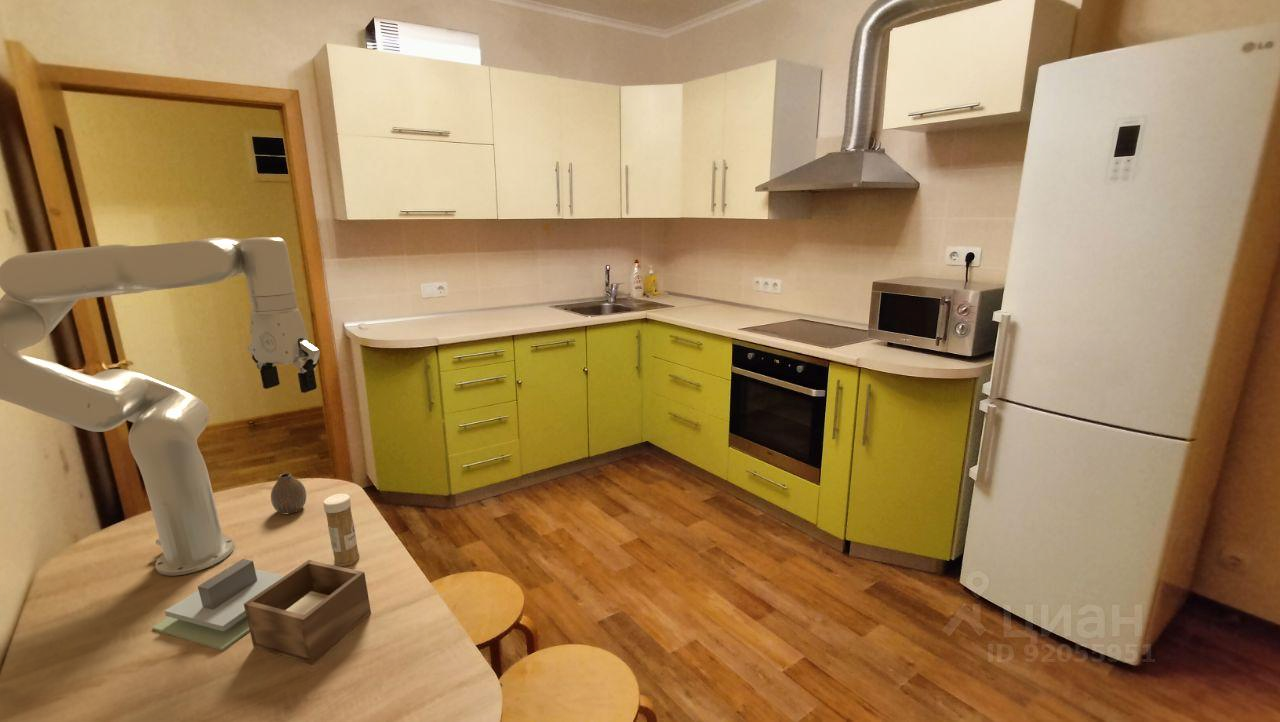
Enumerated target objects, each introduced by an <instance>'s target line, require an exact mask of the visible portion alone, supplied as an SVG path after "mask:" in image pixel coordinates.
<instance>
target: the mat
mask: <svg viewBox="0 0 1280 722" xmlns="http://www.w3.org/2000/svg"><path fill="white" fill-rule="evenodd" d="M151 628H152V630H153V631H157V632H160V633H163V634H166V635H170V636H173V637H176V638H180V639H182V640H186V641H188V642H189V641H190V642H194V643H196V644H200V645H203V646H205V647H208V648H212V649H216V650H219V651H225V650H226V649H228V648H229V647H230V646H232V645H233V644H234V643H236V642H237V641H238V640H240V639H241V638H242V637H244V636H245V635H247V634H248V633H250V629H249V625H248V621H247V617H246V618H244V619H243V620H242V621H240V622H239V623H237V624H236V625H235V626H233V627H232V628H230V629H229V630H225V631H220V630H216V629H212V628H209V627H205V626H201V625H198V624H194V623H190V622H186V621H183V620H179V619H175V618H172V617H168V616H167V618H165V619H163V620H162V621H160V622H159V623H157V624H156V625H154V626H152V627H151Z"/></svg>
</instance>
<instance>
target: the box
mask: <svg viewBox="0 0 1280 722" xmlns="http://www.w3.org/2000/svg"><path fill="white" fill-rule="evenodd" d="M365 573H366V572H364V571H362V570H361V571H360V570H356V569H351V568H348V567H344V566H337V565H334V564H329V563H325V562H322V561H320V562H319V561H316V560H313V559H312V560H311V559H308V560H306V561H305V562H304V563H302V564H301V565H299V566H298V567H296V568H295V569H294V570H291V571H290V572H289V573H287V574H286V575H284V577H283V578H281V579H280V580H278V581H277V582H275V583H274V584H272V585H271V586H269V587H268V588H266V589H265V590H263V591H262V592H261V593H259V594H258V595H256V596H255V597H253V598H252V599H250V600H249V601H247V602H246V603H244V608H245V612H246V616H247V621H248V625H249V629H250V631H249V633H250V639H251V642H252V647H253V649H254V648H255V649H258V650H262V651H265V652H268V653H271V654H275V655H279V656H281V657H285V658H288V659H292V660H295V661H298V662H302V663H305V664H309V665H314V664H315V663H316V662H317V661H318V660H319V659H321V658H322V657H323V656H324V655H325V654H326V653H327V652H329V651H330V650H331V649H332V648H333V647H335V645H336V644H338V643H339V642H340V641H341V640H342V639H343V638H345V637H346V636H347V635H348V634H349V633H350V632H351V631H353V629H355V628H356V627H357V626H358V625H359V624H360V623H362V622H363V621H364V620H365V619H366V618H368V616H369V615H371V614H372V611H371V606H370V605H371V604H370V603H371V602H370V598H369V592H368V586H367V580H366V574H365Z"/></svg>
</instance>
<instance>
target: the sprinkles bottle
mask: <svg viewBox="0 0 1280 722" xmlns="http://www.w3.org/2000/svg"><path fill="white" fill-rule="evenodd" d="M322 503H323V509H324V512H325V516H326V521H327V527H328V533H329V539H330V540H329V541H330V545H331V550H332V552H333V558H334V559H333V560H334V561H333V562H334V564H335V566H339V567H347V566H350V565H353V564H355V563H356V562H357V561H358V560H359V559H360V556H361V555H360V553H359V549H358V548H359V547H358V542H357V536H356V530H355V524H354V523H355V522H354V520H353V515H352V510H351V509H352V507H351V506H352V502H351V497H350V495H349V494H347V493H337V494H333V495H330V496H327V498H325V499H324V500H323V502H322Z"/></svg>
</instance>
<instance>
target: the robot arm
mask: <svg viewBox="0 0 1280 722" xmlns="http://www.w3.org/2000/svg"><path fill="white" fill-rule="evenodd" d="M238 276H244V277H245V280H246V285H247V291H248V295H249V302H250V306H251V307H250V308H251V311H250V313H249V330H250V339H251V343H250V344H249V345H247V350H248V351H249V353H250V355H251V359H252V360H253V362H254V363H255V364H256V368H257V369H258V370H259V372H260V378H261V382H262V387H263V389H264V390H265V389H266V390H267V389H271V388H274V387H277V386H279V385H280V378H279V373H278V368H277V365H275V364H281V365H290V364H294V366H295V367H296V368H297V370H298V371H299V372H298V373H297V377H298V383H299V388H300V389H299V390H300V392H301V393H303V394H304V393H308V392H311V391H313V390H316V389H317V381H316V375H315V370H316V369H317V365H318V363H319V358H320V354H321V351H320V349H318V347H316V346H315V345H313V344H311V343H309V342H310V340H309V336H308V332H307V328H306V325H305V321H304V318H303V315H302V313H301V311H300V309H299V306H298V305H299V304H298V301H297V300H298V299H297V295H296V289H295V288H296V287H295V283H294V277H293V271H292V266H291V261H290V254H289V249H288V245H287V242H286V240H284V239H283V238H282V237H276V236H272V237H271V236H269V237H268V236H266V237H265V236H263V237H259V236H258V237H248V238H230V237H208V238H202V239H196V240H187V241H180V242H170V243H169V242H168V243H160V244H159V243H158V244H148V245H147V244H146V245H126V244H107V245H106V244H105V245H98V246H97V245H96V246H88V247H79V248H78V247H77V248H66V249H58V250H56V249H55V250H44V251H37V252H36V251H35V252H27V253H25V252H24V253H22V254H20V253H19V254H16V255H14V256H12V257H10V258H8V259H6V260H5V261H4V262H2V264H0V288H1V290H2V292H4V294H3V296H2V297H0V400H1V401H5V402H8V403H11V404H14V405H17V406H20V407H23V408H25V409H27V410H30V411H32V412H35V413H37V414H41V415H43V416H46V417H49V418H52V419H53V420H54V419H55V420H57V421H60V422H64V423H65V424H66V423H67V424H69V425H71V426H74V427H77V428H78V429H79V428H80V429H82V430H85V431H90V432H95V433H96V432H98V433H99V432H101V433H102V432H107V431H111V430H113V429H115V428H118V427H119V426H121V425H122V424H124V423H125V422H126V421H128V422H131V423H132V426H131V428H130V430H129V433H128V446H129V449H130V452H131V455H132V457H133V459H134V460H135V462H136V465H137V467H138V468H139V471H140V475H141V477H142V481H143V483H144V487H145V491H146V493H147V496H148V501H149V505H150V508H151V509H150V510H151V511H152V512H151V513H152V517H153V520H154V524H155V527H156V531H157V534H158V538H157V539H156V540H155V544H156V546H161V551H162V553H163V554H161V555H160V556H159V557H158V558H157V560H156V562H155V564H154V565H155V569H156V572H157V573H159V574H160V575H163V576H170V577H172V576H175V577H176V576H183V575H188V574H193V573H195V572H196V573H197V572H199V571H203V570H205V569H208V568H210V567H212V566H214V565H216V564H218V563H220V562H221V561H223V560H225V559H226V558H227V557H228V556H230V555H231V553H232V552H233V551H234V549H235V546H236V544H235V541H234V538H233V537H231V536H229V535H223V532H222V527H221V523H220V518H219V514H218V509H217V505H216V500H215V496H214V492H213V488H212V484H211V480H210V475H209V471H208V468H207V464H206V461H205V458H204V456H203V454H202V453H201V450H200V448H199V446H198V438H199V437H200V435H201V434H202V433H203V432H204V431H205V429H206V428H207V427H208V425H209V422H210V416H211V415H210V410H209V407H208V406H207V404H206V403H205V402H204V401H203V400H201V398H199V397H197V396H196V395H194V394H192V393H190V392H187V391H185V390H184V389H180V388H178V387H175V386H173V385H170V384H168V383H165V382H163V381H160V380H159V379H156V378H153V377H151V376H149V375H146V374H143V373H141V372H138V371H134V370H129V369H122V368H112V369H106V370H103V371H100V372H97V373H96V374H93V375H91V374H86V373H83V372H80V371H77V370H74V369H71V368H69V367H66V366H64V365H62V364H59V363H57V362H54V361H51V360H47V359H43V358H38V357H34V356H30V355H26V354H24V353H21V352H20V351H21V350H25V349H27V348H29V347H32V346H34V345H36V344H38V343H40V342H41V341H43V340H44V339H45V338H46V337H48V336H49V335H50V333H51V332H52V331H53V330H54V329H55V328H56V327H57V325H59V324H60V322H61V321H62V320H63V318H65V317H66V316H67V314H69V312H70V311H71V309H73V307H74V306H75V305H76V303H77V302H78V301H79V300H84V299H85V300H86V299H92V298H93V299H94V298H102V297H111V296H112V297H113V296H120V295H121V296H122V295H130V294H140V293H143V292H151V291H161V290H162V291H163V290H172V289H180V288H186V287H196V286H204V285H205V286H206V285H211V284H218V283H220V282H223V281H225V280H227V279H230V278H235V277H238ZM303 362H304V364H303Z"/></svg>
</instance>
